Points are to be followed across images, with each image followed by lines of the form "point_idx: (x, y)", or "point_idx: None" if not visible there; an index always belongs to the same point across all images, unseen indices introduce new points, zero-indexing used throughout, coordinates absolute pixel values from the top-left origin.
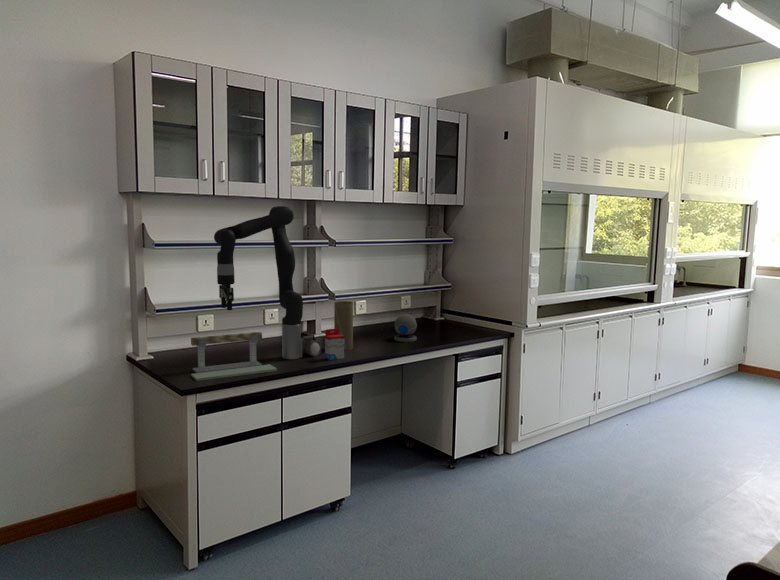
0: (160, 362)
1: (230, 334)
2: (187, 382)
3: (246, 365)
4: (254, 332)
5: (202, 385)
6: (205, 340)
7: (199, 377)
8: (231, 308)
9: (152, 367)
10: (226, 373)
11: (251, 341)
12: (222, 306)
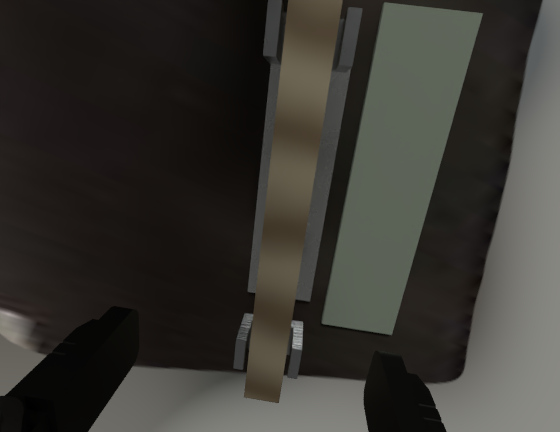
0: None
1: (271, 199)
2: None
3: (332, 112)
4: (301, 8)
5: (450, 336)
6: (301, 347)
7: (383, 322)
8: (423, 385)
9: (146, 359)
10: (397, 234)
11: (342, 71)
12: (129, 365)
